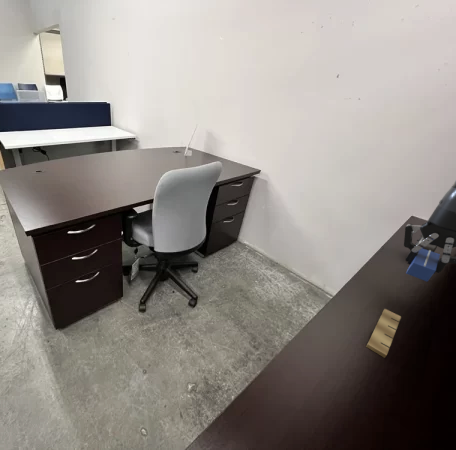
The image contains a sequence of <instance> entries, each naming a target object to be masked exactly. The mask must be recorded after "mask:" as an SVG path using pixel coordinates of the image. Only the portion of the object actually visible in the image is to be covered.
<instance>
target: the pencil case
mask: <svg viewBox="0 0 456 450" xmlns="http://www.w3.org/2000/svg"><path fill="white" fill-rule="evenodd" d="M440 256H441V254H440V253H437V252H436V251H435V252H432V251H431V250H426V249H423V248H422V249H421V250H419V252H418V254H417V256H416V257H415V258H414V260H413V261H412V263H411V264H410V265H409V266H408V268H407V270H406V272H405V274H407V275H409V276H412V277H413V278H416V279H419V280H422V281H424V282H426V283H427V282H429V280H430V279H431V278H432V276H433V275H434V272H435V271H436V268H437V263H438V260H439V259H440Z"/></svg>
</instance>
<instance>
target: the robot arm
mask: <svg viewBox="0 0 456 450" xmlns="http://www.w3.org/2000/svg"><path fill="white" fill-rule="evenodd" d="M418 231H420V233H421V235H422V236H423V239H422V240H420V241H419V242H418V241H417V242H416V243H417V244H416V243H413V234H416V233H417V232H418ZM403 239H404V240H403V247H404V248H406V249H408V250H410V251H409V252H408V254H407V256H406V257H405V262H406V265H409V266H410V264H411V263H412V261H413V260H414V258H415V257H416V256H417V254H418V252H419V250H421V249H422V248H423V247H425V246H427V245H428V244H430V245H435V246H437V248H440V249H443V252H442V256H441V257H440V258H439V260H438V263H437V268H436V271H435V272H434V274H436V273H438V274H439V273H441V272H442V271H443V269H444V268H445V267H446V265H448V264H455V265H456V256H451V255H452V250H453V249H454V248H456V180H455V181H454V182H453V184H452V185H451V187H450V188H449V189H448V190H447V191H446V192H445V194H444V195H443V197H441V199H440V200H439V202H438V204H437V206H436V207H435V208H434V210H433V212H432V213H431V215H430V217H429V218H428V219H427V220H426V222H425V223H422V224H421V225H420V224H419V225H418V224H412V223H407V224H406V226H405V227H404V238H403ZM434 274H433V275H434Z"/></svg>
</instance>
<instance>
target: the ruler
mask: <svg viewBox="0 0 456 450" xmlns="http://www.w3.org/2000/svg"><path fill="white" fill-rule="evenodd" d="M401 319H402V316H401V315H399V314H397V313H394V312H392V311H390V310H389V309H387V308H384V309H383V310H382V312H381V314H380V317H379V319H378V320H377V323H376V325H375V327H374V329H373V332H372V333H371V335H370V337H369V340H368V342H367V344H366V346H365V347H366V348H367V349H368V350H370V351H372V352H374V353H376V354H377V355H379V356H381V357H382V358H383V359H385V358H386V357H387V355H388V353H389V350H390V348H391V346H392V343H393V341H394V337H395V335H396V332H397V329H398V328H399V327H398V326H399V324H400V321H401Z"/></svg>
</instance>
